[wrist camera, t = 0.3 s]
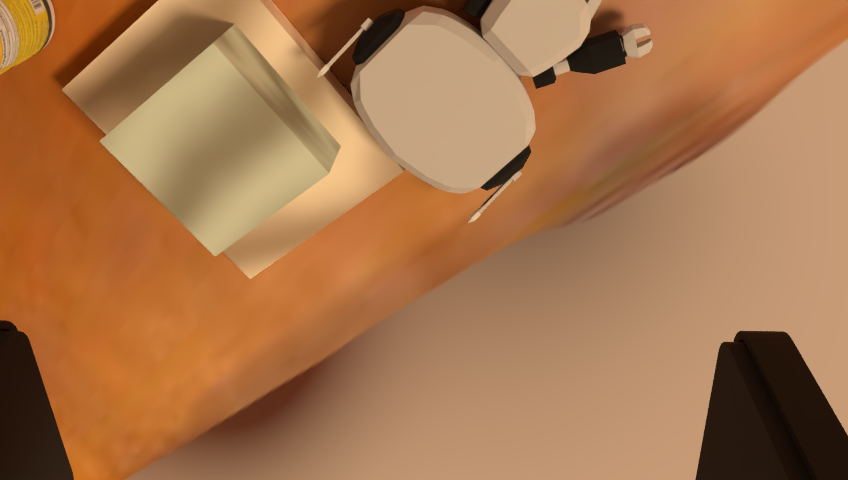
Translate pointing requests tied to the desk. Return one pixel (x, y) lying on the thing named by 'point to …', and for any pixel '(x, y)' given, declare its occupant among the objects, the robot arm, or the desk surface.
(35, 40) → the supplement bottle
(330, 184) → the base board
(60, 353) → the desk surface
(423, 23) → the robot toy
